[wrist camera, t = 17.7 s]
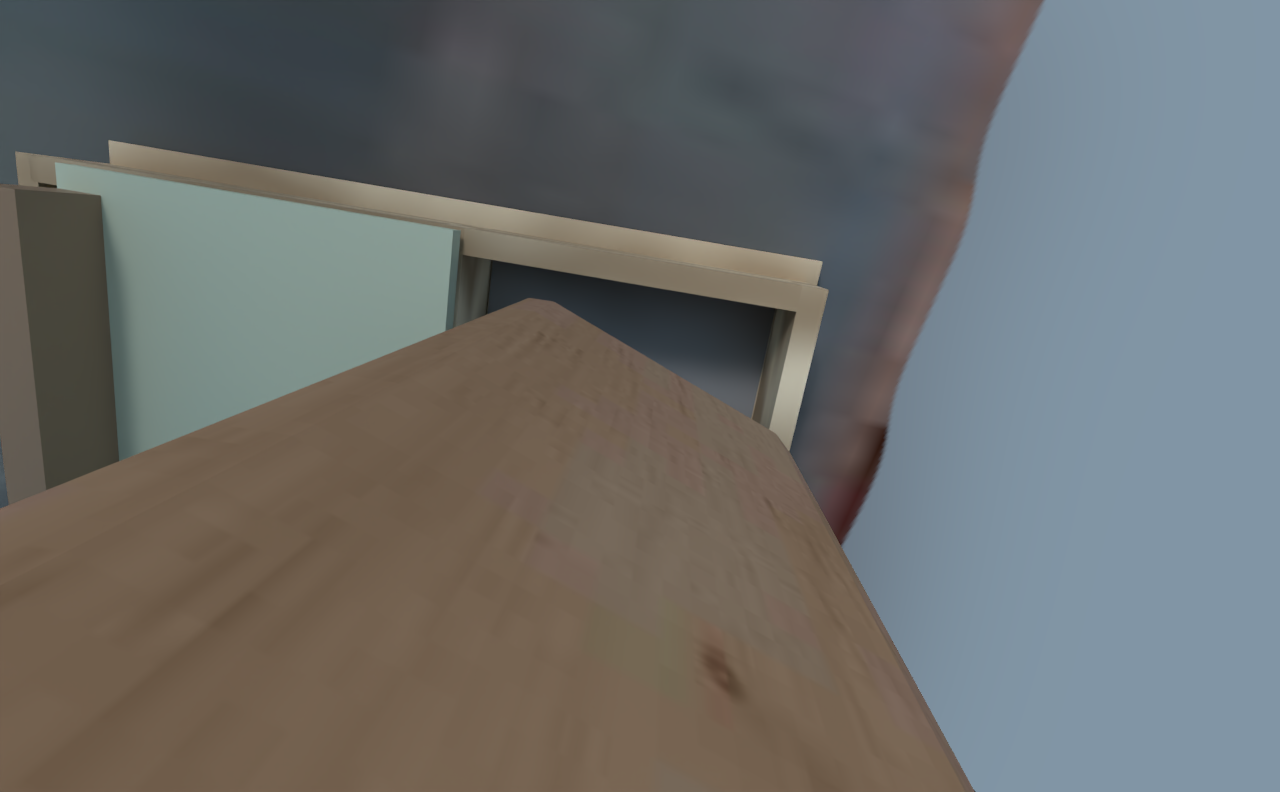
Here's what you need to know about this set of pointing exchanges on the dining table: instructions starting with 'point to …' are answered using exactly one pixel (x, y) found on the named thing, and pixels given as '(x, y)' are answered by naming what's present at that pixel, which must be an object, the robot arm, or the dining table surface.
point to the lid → (187, 310)
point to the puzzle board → (572, 275)
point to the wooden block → (455, 595)
